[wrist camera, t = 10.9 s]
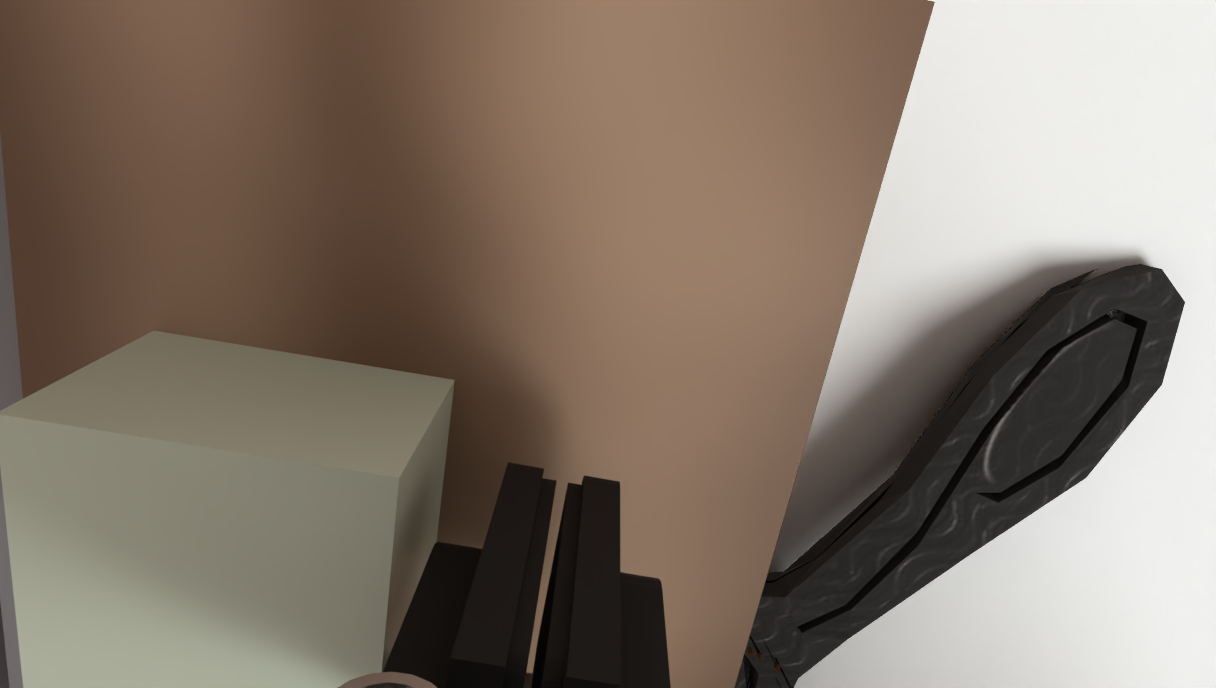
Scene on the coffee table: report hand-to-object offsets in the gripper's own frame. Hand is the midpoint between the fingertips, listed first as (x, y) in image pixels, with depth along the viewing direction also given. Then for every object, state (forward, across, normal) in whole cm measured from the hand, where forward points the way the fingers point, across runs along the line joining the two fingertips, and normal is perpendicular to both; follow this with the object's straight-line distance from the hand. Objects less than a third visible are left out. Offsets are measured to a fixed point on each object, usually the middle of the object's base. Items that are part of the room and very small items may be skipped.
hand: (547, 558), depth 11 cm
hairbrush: (+7, -5, +5) cm, 10 cm away
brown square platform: (+6, +2, -3) cm, 7 cm away
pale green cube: (+1, +4, 0) cm, 4 cm away
